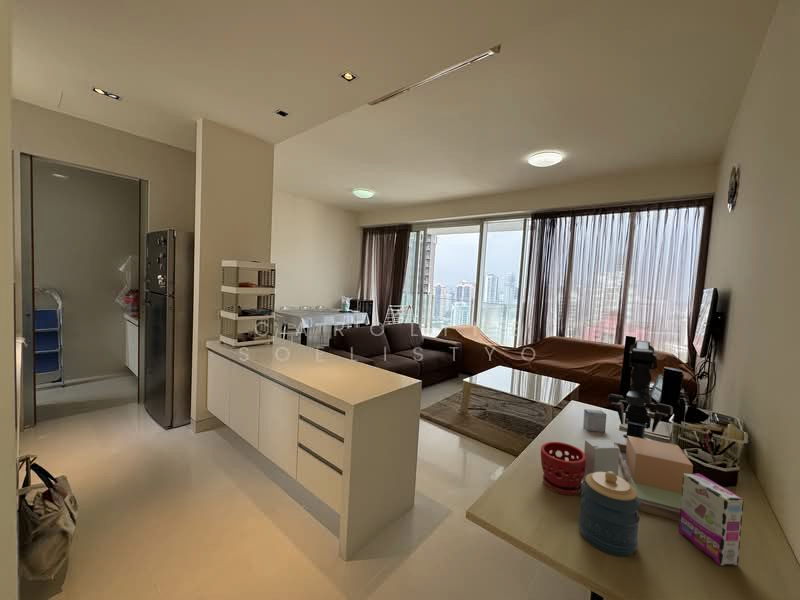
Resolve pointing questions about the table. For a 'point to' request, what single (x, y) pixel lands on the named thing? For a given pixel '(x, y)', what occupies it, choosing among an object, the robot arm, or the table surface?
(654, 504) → the tray
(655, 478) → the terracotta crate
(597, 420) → the medicine box
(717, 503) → the candy bar box
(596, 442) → the skincare box
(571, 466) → the plant pot
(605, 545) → the canister
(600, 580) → the table surface
